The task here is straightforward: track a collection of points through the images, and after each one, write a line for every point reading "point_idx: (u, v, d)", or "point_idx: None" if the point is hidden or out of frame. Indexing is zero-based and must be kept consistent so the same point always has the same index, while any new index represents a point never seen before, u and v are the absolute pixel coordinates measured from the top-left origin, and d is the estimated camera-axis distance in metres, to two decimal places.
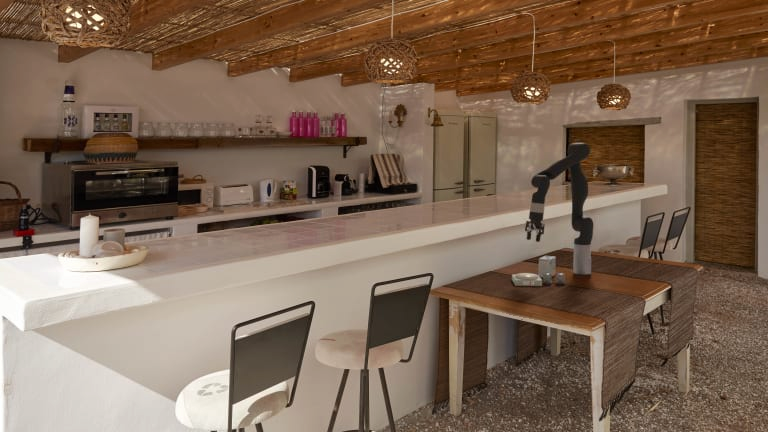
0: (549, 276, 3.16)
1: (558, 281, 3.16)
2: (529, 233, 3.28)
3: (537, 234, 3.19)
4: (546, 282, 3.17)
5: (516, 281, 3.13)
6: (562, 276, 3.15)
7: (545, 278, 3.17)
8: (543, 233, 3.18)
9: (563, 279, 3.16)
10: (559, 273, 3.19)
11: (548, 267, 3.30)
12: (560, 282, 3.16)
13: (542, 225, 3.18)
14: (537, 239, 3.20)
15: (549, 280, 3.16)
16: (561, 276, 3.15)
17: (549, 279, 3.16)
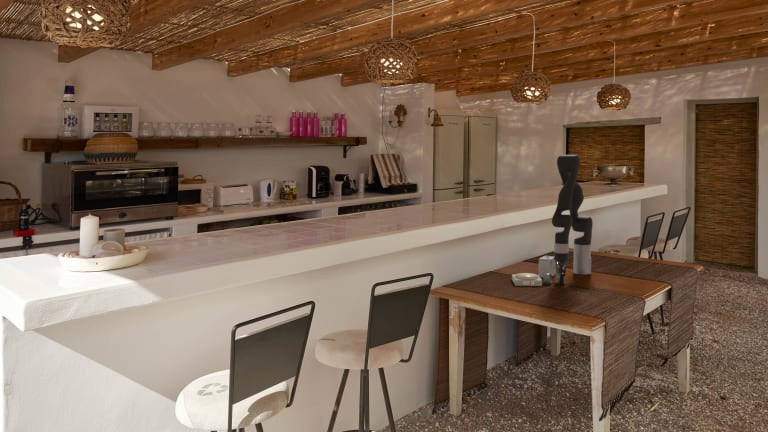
0: (549, 276, 3.16)
1: (558, 281, 3.16)
2: None
3: (559, 276, 3.14)
4: (546, 282, 3.17)
5: (516, 281, 3.13)
6: None
7: (545, 278, 3.17)
8: (564, 276, 3.12)
9: None
10: None
11: (548, 267, 3.30)
12: None
13: (563, 269, 3.10)
14: (560, 281, 3.15)
15: (549, 280, 3.16)
16: None
17: (549, 279, 3.16)
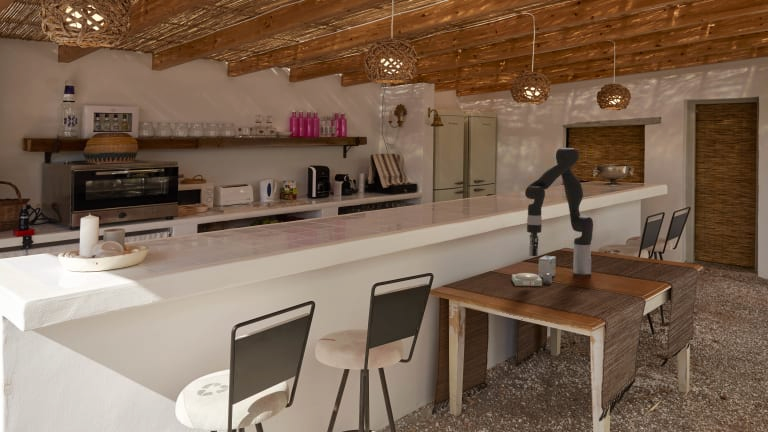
0: (549, 276, 3.16)
1: (531, 253, 3.16)
2: None
3: (532, 248, 3.14)
4: (546, 282, 3.17)
5: (516, 281, 3.13)
6: None
7: (545, 278, 3.17)
8: (537, 247, 3.11)
9: None
10: None
11: (548, 267, 3.30)
12: None
13: (535, 240, 3.10)
14: (533, 253, 3.14)
15: (549, 280, 3.16)
16: None
17: (549, 279, 3.16)
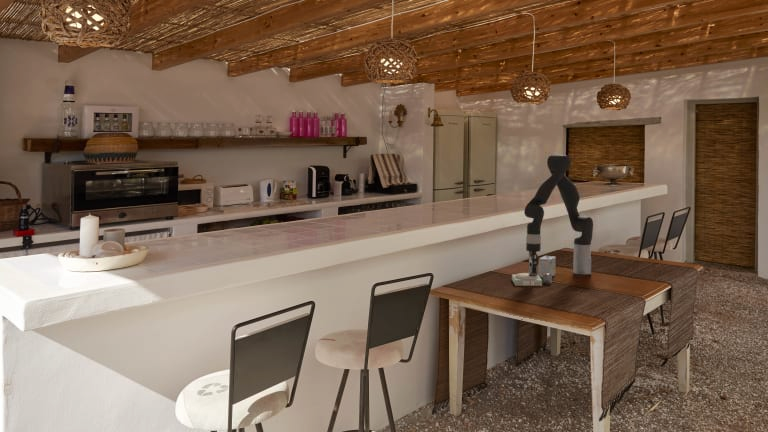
0: (549, 276, 3.16)
1: (530, 273, 3.17)
2: (531, 263, 3.22)
3: (532, 266, 3.13)
4: (546, 282, 3.17)
5: (516, 281, 3.13)
6: None
7: (545, 278, 3.17)
8: None
9: None
10: None
11: (548, 267, 3.30)
12: (532, 274, 3.17)
13: (535, 257, 3.11)
14: (532, 271, 3.14)
15: (549, 280, 3.16)
16: None
17: (549, 279, 3.16)
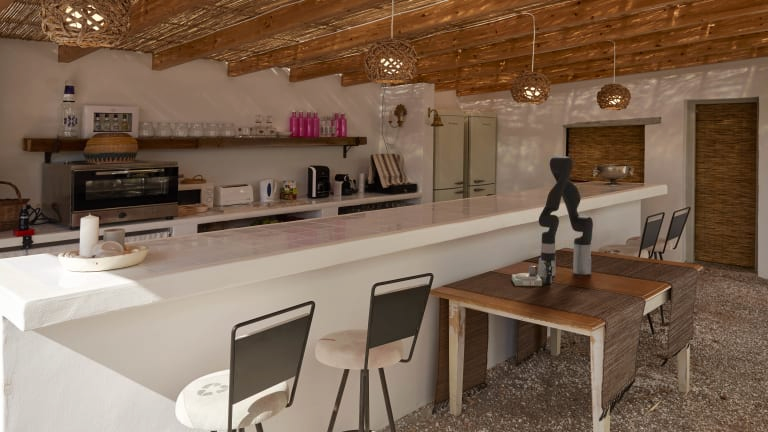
0: None
1: (530, 273, 3.17)
2: None
3: (546, 276, 3.15)
4: None
5: (516, 281, 3.13)
6: (534, 268, 3.16)
7: (545, 278, 3.16)
8: None
9: (535, 271, 3.17)
10: None
11: None
12: (532, 274, 3.17)
13: (549, 268, 3.11)
14: (547, 281, 3.15)
15: None
16: (533, 268, 3.16)
17: None
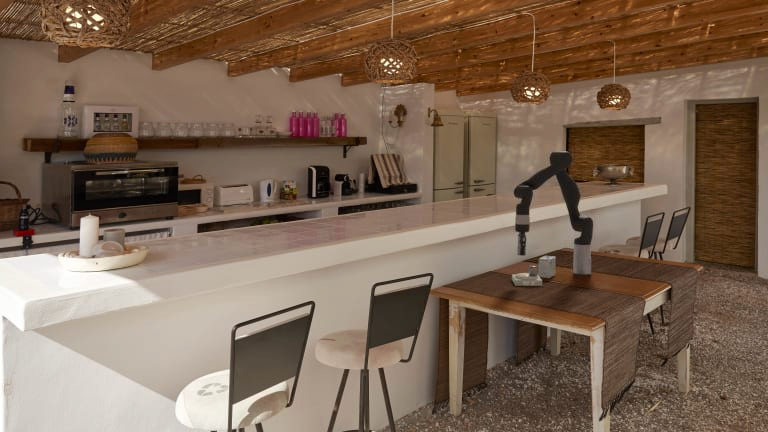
0: None
1: (530, 273, 3.17)
2: None
3: (520, 248, 3.14)
4: None
5: (516, 281, 3.13)
6: (534, 268, 3.16)
7: (519, 250, 3.16)
8: (525, 247, 3.12)
9: (535, 271, 3.17)
10: None
11: (548, 267, 3.30)
12: (532, 274, 3.17)
13: (523, 240, 3.10)
14: (521, 253, 3.14)
15: None
16: (533, 268, 3.16)
17: None
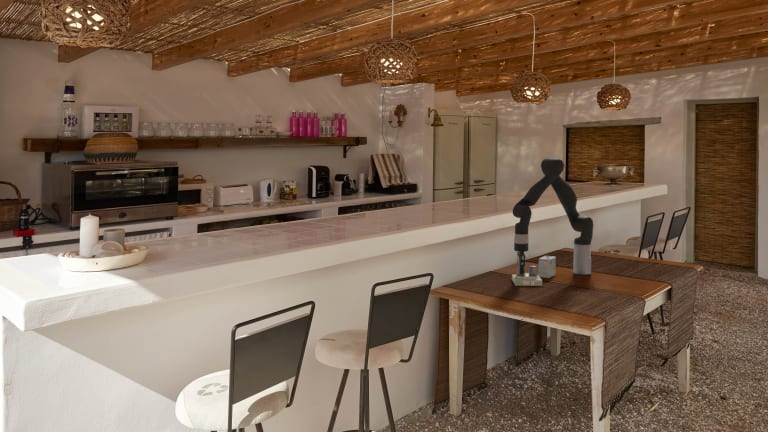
0: None
1: (530, 273, 3.17)
2: (519, 265, 3.22)
3: (519, 266, 3.15)
4: (519, 274, 3.17)
5: (516, 281, 3.13)
6: (534, 268, 3.16)
7: (519, 271, 3.17)
8: (524, 266, 3.12)
9: (535, 271, 3.17)
10: None
11: (548, 267, 3.30)
12: (532, 274, 3.17)
13: (522, 258, 3.12)
14: (520, 271, 3.15)
15: None
16: (533, 268, 3.16)
17: None
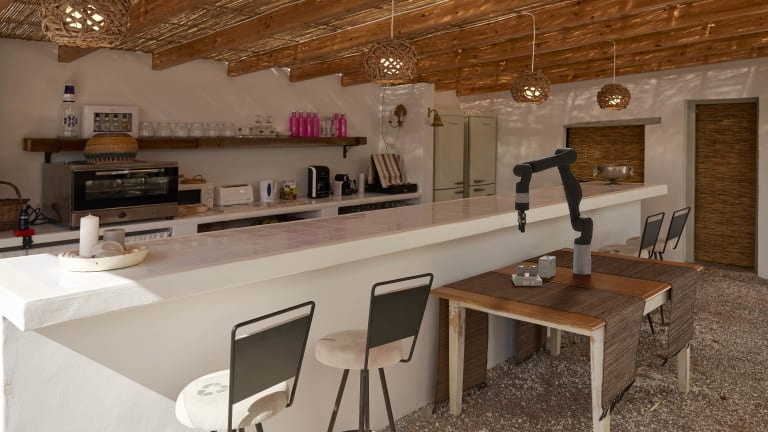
0: (522, 268, 3.17)
1: (530, 273, 3.17)
2: (520, 223, 3.20)
3: (520, 225, 3.11)
4: (519, 274, 3.17)
5: (516, 281, 3.13)
6: (534, 268, 3.16)
7: (519, 271, 3.17)
8: (525, 223, 3.09)
9: (535, 271, 3.17)
10: None
11: (548, 267, 3.30)
12: (532, 274, 3.17)
13: (523, 215, 3.09)
14: (521, 230, 3.12)
15: (522, 272, 3.17)
16: (533, 268, 3.16)
17: (522, 271, 3.17)
